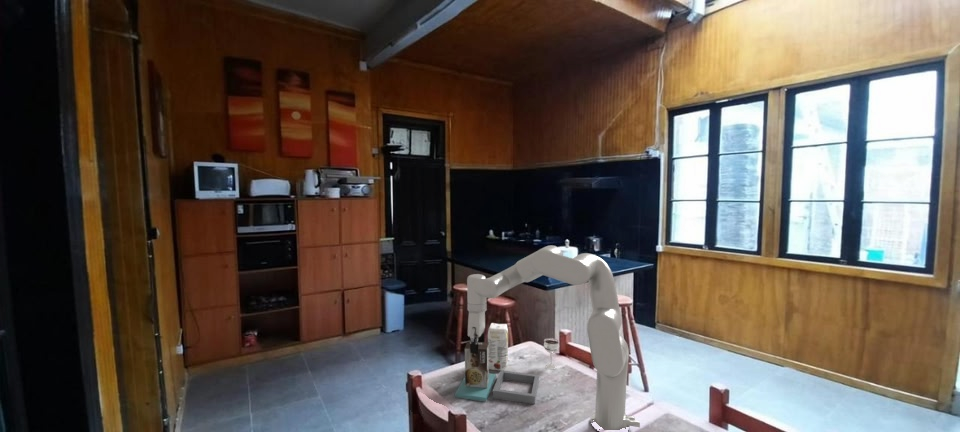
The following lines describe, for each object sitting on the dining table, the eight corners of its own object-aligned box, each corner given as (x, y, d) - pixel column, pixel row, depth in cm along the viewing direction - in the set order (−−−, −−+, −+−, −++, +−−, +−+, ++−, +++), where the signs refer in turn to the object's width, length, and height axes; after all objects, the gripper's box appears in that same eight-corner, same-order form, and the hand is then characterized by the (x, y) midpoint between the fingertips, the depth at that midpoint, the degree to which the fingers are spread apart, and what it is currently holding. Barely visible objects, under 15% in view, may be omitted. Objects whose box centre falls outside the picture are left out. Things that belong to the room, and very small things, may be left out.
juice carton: (506, 372, 166) (506, 330, 164) (486, 370, 168) (486, 328, 166) (508, 364, 173) (508, 323, 171) (489, 362, 175) (489, 321, 173)
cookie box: (489, 380, 156) (489, 342, 155) (487, 388, 150) (487, 349, 148) (467, 378, 158) (467, 340, 156) (464, 387, 151) (464, 347, 150)
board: (495, 377, 161) (495, 374, 161) (485, 401, 144) (485, 397, 144) (468, 373, 164) (468, 370, 164) (455, 397, 147) (455, 393, 147)
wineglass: (560, 371, 167) (560, 344, 166) (544, 370, 167) (545, 344, 166) (557, 363, 174) (557, 338, 173) (542, 363, 174) (542, 337, 173)
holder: (538, 382, 158) (539, 375, 158) (534, 404, 143) (534, 396, 142) (500, 376, 162) (500, 370, 162) (492, 397, 146) (492, 390, 146)
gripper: (473, 298, 160) (474, 338, 162) (461, 312, 143) (462, 356, 145) (491, 300, 158) (491, 340, 160) (481, 314, 142) (481, 358, 143)
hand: (477, 347), depth 152 cm, fingers open, 9 cm apart
